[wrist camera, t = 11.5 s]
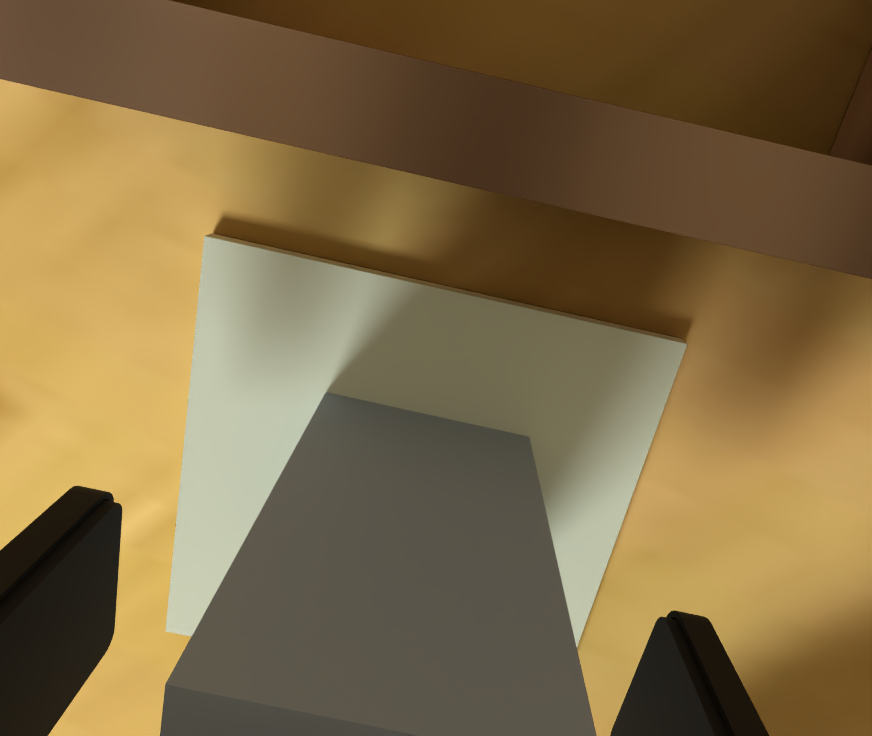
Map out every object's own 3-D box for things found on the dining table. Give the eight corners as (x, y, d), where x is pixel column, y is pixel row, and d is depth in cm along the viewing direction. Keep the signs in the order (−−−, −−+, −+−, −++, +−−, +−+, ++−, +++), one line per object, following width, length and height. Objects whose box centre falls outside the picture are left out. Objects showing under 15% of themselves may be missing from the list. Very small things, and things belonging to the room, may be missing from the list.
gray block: (529, 436, 14) (604, 773, 7) (479, 602, 16) (495, 1032, 8) (326, 391, 14) (165, 684, 6) (295, 563, 15) (135, 966, 8)
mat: (681, 338, 14) (687, 344, 13) (552, 697, 17) (554, 709, 17) (211, 233, 13) (204, 236, 13) (172, 620, 17) (165, 631, 16)
